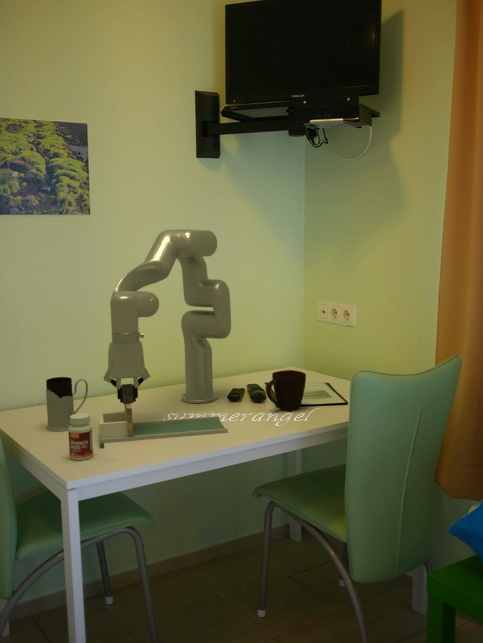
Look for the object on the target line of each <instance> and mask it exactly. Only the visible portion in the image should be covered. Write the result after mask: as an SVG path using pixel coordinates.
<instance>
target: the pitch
mask: <svg viewBox="0 0 483 643" xmlns="http://www.w3.org/2000/svg"><path fill="white" fill-rule="evenodd" d="M132 423H133V436H128V430H127V421H125V410H124V411H109V412H100V413H99V412H98V427H99V445H100V449H105V444H109V443H110V444H112V443H122V442H133V441H134V442H136V441H145V440H157V439H171V438H179V437H193V436H204V435H205V436H206V435H216V434H217V435H218V434H227V433H228V434H229V432H228V431H229V430H228V428H225V427H224V425H223V424H222V422H221V420H220V415H213V416H202V417H201V416H200V417H188V418H176V419H175V418H174V419H164V420H163V419H162V420H161V419H160V420H151V421H150V420H149V421H136V422H132Z"/></svg>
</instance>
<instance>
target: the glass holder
mask: <svg viewBox="0 0 483 643" xmlns="http://www.w3.org/2000/svg"><path fill="white" fill-rule="evenodd" d="M72 380H73V379H72V378H71V377H68V376H67V377H66V376H57V377H51V378H48V379H46V380H45V385H46V386H45V387H46V388H45V395H46V398H45V400H46V413H47V427H46V430H47V431H48V432H52V433H53V432H54V433H64V432H68V428H69V426H70V425H72V424H70V416H71V415H73V414H77V412H79V410H80V409H81V408H82V406H83V405H84V404H85V402H86V399H87V398H88V393H89V392H88V391H89V385H88V382H87V380H85V379H83V378H81V379H78V380H77V381H76V382H75V383H74V392H73V381H72ZM81 381H82V382H84V383H85V394H84V396H83V400H82V402H81V403H80V405H79V406H78V407H77V408H76V409H75V410H74V406H75V405H74V395H76V394H77V387H78V384H79V383H80V382H81Z"/></svg>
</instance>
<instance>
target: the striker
mask: <svg viewBox="0 0 483 643" xmlns="http://www.w3.org/2000/svg"><path fill="white" fill-rule="evenodd" d="M121 387H122V394H123V402H122V404H123V405H124V411H125V421H127V430H128V436H133V423H134V422H133V407H132V404H134V403H135V402H134V401H133V383H126V384H125V383H124V384H122V383H121Z"/></svg>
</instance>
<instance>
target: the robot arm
mask: <svg viewBox="0 0 483 643" xmlns="http://www.w3.org/2000/svg"><path fill="white" fill-rule="evenodd" d="M217 248H218V239H217V236H216V235H215V233H214V232H213V231H212V230H200V229H189V228H188V229H165V230H162V231H160V233H158V235H157V236H156V238H155V240H154V241H153V244H152V246H151V248H150V250H149V251H148V253H147V255H146V258H145V260H144V261H143V262H141V263H140V264H139V265H137V266H136V267H134V268H132V269H131V270H130V271H128V272H127V273H126V274H124V275H123V276H122V277H121V278H120V280H118V283H117V284H116V286H115V287H114V289H113V292H112V294H111V297H110V302H109V304H110V306H109V307H110V324H111V325H110V326H111V342H109V344H108V351H107V352H108V354H107V370H106V372H105V373H104V376H103V381H104V382H107V383H108V384H111V385H112V386H113V387H114V388H116V394H117V400H119V402H120V404H123V394H122V379H130V378H132V381H133V383H132V385H133V401H134V403H135V402H137V399H139V392H138V390H139V389H138V388H139V387H140V386H141V384H142V383H143V382H144V381H146V380H148V379H149V378H151V375H150V373H149V371H148V369H147V367H145V357H144V356H145V355H144V354H145V353H144V348H143V343H142V341H140V340H141V339H143V338H145V334H144V332H140V331H139V318H151V317H152V316H155V314H156V313H157V312H158V311H159V308H160V300H159V298H158V296H157V295H156V294H155V293H153V292H150V291H143V290H142V291H140V289H143V288H145V287H148V286H150V285H153V284H157V283H159V282H161V281H164V280H165V279H167V278H168V276H169V275H170V273H171V271H172V269H173V267H174V265H175V264H176V261H177V260H178V262H179V265H180V267H181V272H182V273H181V275H182V287H183V298H184V302H185V304H187V306H190V307H197V308H212V309H213V310H206V309H205V310H204V309H193V310H192V309H191V310H188V311H186V312H184V314H183V315H182V316H181V320H180V327H181V332H182V336H183V346H184V371H185V375H184V376H185V394H182V395H181V401H183V402H184V403H189V404H207V403H212V402H215V401H216V400H218V395H217V393H215V392H214V391H213V390H214V387H213V349H212V346H211V344H210V342H209V341H208V339H216V340H217V339H218V340H220V339H221V340H222V339H226V338H228V337H229V335H230V334H231V330H232V313H231V311H232V309H231V307H232V306H231V294H230V293H231V292H230V289H229V285H228V284H227V283H226V282H225V281H224V280H221V279H210V278H209V277H208V267H207V262H206V260H205V258H204V257H211V256H213V255H214V254H215V253H216V252H217Z"/></svg>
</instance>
